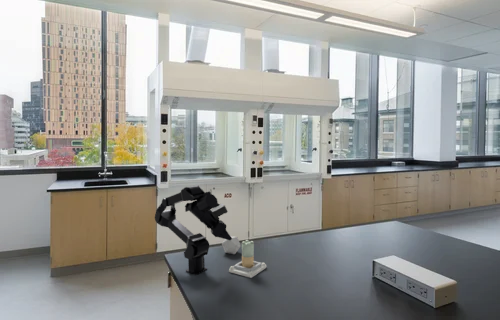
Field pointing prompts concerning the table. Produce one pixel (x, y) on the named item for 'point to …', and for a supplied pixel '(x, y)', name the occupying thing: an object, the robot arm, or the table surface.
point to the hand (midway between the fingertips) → (228, 236)
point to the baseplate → (247, 269)
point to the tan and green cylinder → (247, 254)
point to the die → (231, 245)
